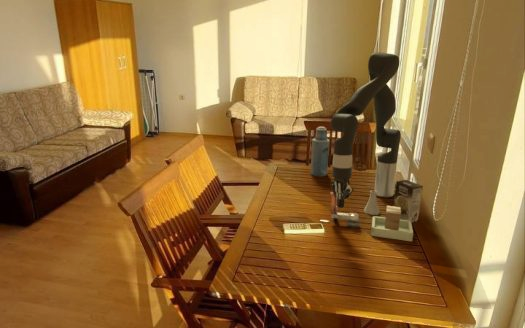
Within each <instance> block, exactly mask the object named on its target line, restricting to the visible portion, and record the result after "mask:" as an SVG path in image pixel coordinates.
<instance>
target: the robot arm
mask: <svg viewBox="0 0 525 328" xmlns="http://www.w3.org/2000/svg"><path fill="white" fill-rule="evenodd" d="M367 63H368V64H367V68H368V70H367V71H368V75H369V80H370V81H369V82H367V83H366V84H364V85H362V86H360V87H359V88H357V90H355V92H354V93H353V94H352V96H351V97H350V99H348V102H346V103H345V104H344V105H343V106H342V107H340V109H338V110H337V111H336V112H335V113H334V114H333V115H332V118H331V119H330V127H331V130H333V131H334V132H338V133H342V137H341V138H340V137H339V138H336V139H335V140H334V142H333V157H332V170H331V171H332V173H331V174H332V175H331V176H332V177H333V180H332V181H330V182H329V185H330V188H331V192H333V193H334V195H336V197H337V207H338V208H339V209H341V208H344V206H345V199H349V197H350V196H351V195H352V193H353V192H354V187H351V186H350V185H351V182H350V179H351V178H352V175H353V147H354V146H353V144H354V141H355V139H356V136H357V132H358V128H359V120H358V116H361V115H362V114H363V113H364V111H366V109H367V108H368V106H369V104H370V103H371V101H373V109H374V116H375V117H374V118H375V141H376V145H377V146H378V147H380V148H386V149H390V151H388V152H383V153H380V154H378V155H377V160H376V162H377V163H376V171H375V180H374V191H377V194H376V197H377V196H378V197H381V198H390V197H393V196H394V193H395V185H396V175H397V174H396V173H397V167H398V166H397V164H398V158H399V148H400V144H401V139H402V133H401V132H402V131H400V130H399V129H396V128H395V129H393V128H385V126H386V124H387V123H388V122H389V120H391V119H392V117H393V116H394V114H395V113H396V111H397V103H396V97H395V93H394V92H393V91H392V90H391V88H390V86H389V85H388V82H390V81H391V80H392V79H393V78H394V77H395V75H396V73H397V72H398V70H399V67H400V58H399V56H398V55H396V54H394V53H386V52H380V51H375V52H373V53H372V54H370V55H369V59H368V61H367Z"/></svg>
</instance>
